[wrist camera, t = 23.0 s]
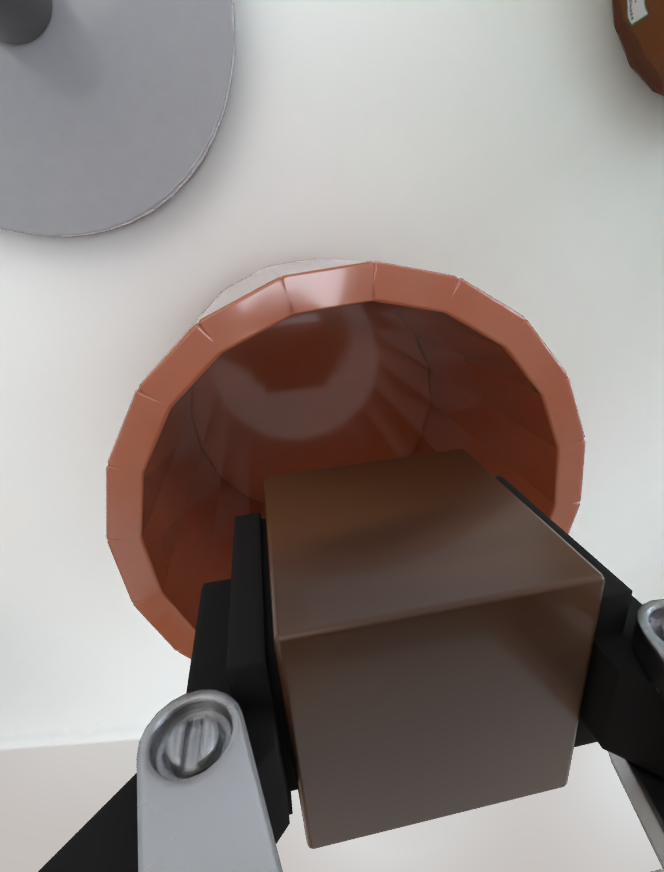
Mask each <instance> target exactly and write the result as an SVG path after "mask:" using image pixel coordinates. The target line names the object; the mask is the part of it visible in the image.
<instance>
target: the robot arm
mask: <svg viewBox="0 0 664 872" xmlns="http://www.w3.org/2000/svg"><path fill="white" fill-rule="evenodd" d="M495 478H496V479H498V480H499V481H500V482H501V483H502V484H503V485H504V486H505V487H506V488H508V489H509V490H510V491H511V492H512V493H513V494H514V495H515V496H516V497H518V498H519V499H520V500H521V501H522V502H523V503H524V504H525V505H526V506H527V507H529V508H530V509H531V510H532V511H533V512H534V513H535V514H536V515H537V516H539V517H540V518H541V519H542V520H543V521H544V522H545V523H546V524H547V525H549V526H550V527H551V528H552V529H553V530H554V531H555V532H556V533H557V534H558V535H560V536H561V537H562V538H563V539H564V540H565V541H566V542H567V543H568V544H570V545H571V546H572V547H573V548H574V549H575V550H576V551H577V552H578V553H580V554H581V555H582V556H583V557H584V558H585V559H586V560H587V561H588V562H590V563H591V564H592V565H593V566H594V567H595V568H596V569H597V570H598V571H599V572H601V573H602V574H603V576H604V579H605V585H604V590H603V595H602V601H601V606H600V611H599V617H598V622H597V627H596V632H595V638H594V643H593V648H592V653H591V659H590V664H589V669H588V675H587V680H586V685H585V690H584V696H583V701H582V706H581V712H580V717H579V722H578V727H577V733H576V738H575V743H574V747H577V746H580V745H585V744H589V743H594V742H598V743H599V744H600V746H601V747H602V748H603V749H605V750H607V751H608V752H609V756H610V759H611V762H612V764H613V766H614V768H615V770H616V772H617V774H618V776H619V779H620V781H621V783H622V785H623V787H624V789H625V791H626V793H627V795H628V797H629V799H630V801H631V803H632V806H633V808H634V810H635V812H636V814H637V816H638V818H639V820H640V822H641V824H642V826H643V828H644V830H645V832H646V835H647V837H648V839H649V841H650V843H651V845H652V847H653V849H654V851H655V853H656V855H657V857H658V860H659V862H660V863H661V866H662V868H663V869H660V870H656V871H652V872H664V599H659V600H652V601H649V602H647V603H645V604H643V605H642V604H641V603H640V602H639V601H638V600H636V599H635V598H634V597H633V596H632V590H631V589H630V588H628V587H627V586H626V585H625V584H624V583H623V582H622V581H620V580H619V579H618V578H617V577H616V576H615V575H614V574H613V573H611V572H610V571H609V570H608V569H607V568H606V567H605V566H603V565H602V564H601V563H600V562H599V561H598V560H597V559H595V558H594V557H593V556H592V555H591V554H590V553H589V552H587V551H586V550H585V549H584V548H583V547H582V546H581V545H579V544H578V543H577V542H576V541H575V540H574V539H573V538H571V537H570V536H569V535H568V534H567V533H566V532H565V531H564V530H562V529H561V528H560V527H559V526H558V525H557V524H556V523H554V522H553V521H552V520H551V519H550V518H549V517H548V516H546V515H545V514H544V513H543V512H542V511H541V510H540V509H538V508H537V507H536V506H535V505H534V504H533V503H532V502H530V501H529V500H528V499H527V498H526V497H525V496H524V495H522V494H521V493H520V492H519V491H518V490H517V489H516V488H515V487H513V486H512V485H511V484H510V483H509V482H508V481H507V480H505V479H504V478H503V477H501V476H495ZM297 789H298V785H297V779H296V773H295V767H294V761H293V755H292V749H291V743H290V737H289V731H288V725H287V719H286V713H285V707H284V701H283V695H282V689H281V683H280V677H279V671H278V665H277V659H276V653H275V647H274V641H273V626H272V609H271V593H270V576H269V560H268V543H267V527H266V518H263V519H261V514H260V512H259V513H252V514H246V515H239V516H235V520H234V538H233V555H232V572H231V579H226V580H220V581H214V582H208V583H204V584H203V586H202V590H201V596H200V603H199V610H198V617H197V624H196V631H195V637H194V644H193V651H192V658H191V665H190V672H189V679H188V686H187V693H186V694H184V695H182V696H180V697H179V698H177V699H175V700H173V701H171V702H170V703H169V704H167V705H166V706H165V707H164V708H163V709H161V710H160V711H159V712H158V713H157V714H156V715H155V717H154V718H153V719H152V720H151V722H150V723H149V724H148V725H147V727H146V729H145V731H144V733H143V735H142V737H141V740H140V742H139V747H138V753H137V773H136V774H135V775H134V776H133V777H132V778H131V779H130V780H129V781H128V782H127V783H126V784H125V785H124V786H123V787H122V788H121V789H120V790H119V791H118V792H117V793H116V794H115V795H114V796H113V797H112V798H111V799H110V800H109V801H108V802H107V803H106V804H105V805H104V806H103V807H102V808H101V809H100V810H99V811H98V812H97V813H96V814H95V815H94V816H93V817H92V818H91V819H90V820H89V821H88V822H87V823H86V824H85V825H84V826H83V827H82V828H81V829H80V830H79V831H78V832H77V833H76V834H75V836H73V837H72V838H71V839H70V840H69V841H68V842H67V843H66V844H65V845H64V846H63V847H62V848H61V849H60V850H59V851H58V852H57V853H56V854H55V855H54V856H53V857H52V858H51V860H49V861H48V862H47V863H46V864H45V865H44V866H43V867H42V869H40V870H39V871H38V872H283V871H282V867H281V863H280V859H279V855H278V851H277V847H276V843H277V842H278V840H279V839H280V837H281V836H282V834H283V833H284V831H285V830H286V828H287V827H288V825H289V824H290V823H289V815H290V814H292V801H291V791H292V790H297Z"/></svg>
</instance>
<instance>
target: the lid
mask: <svg viewBox="0 0 664 872" xmlns="http://www.w3.org/2000/svg"><path fill="white" fill-rule="evenodd" d="M234 53H235V19H234V8H233V0H0V229H4V230H9V231H13V232H18V233H23V234H30V235H42V236H54V237H66V236H85V235H90V234H95V233H100V232H105V231H110V230H113V229H115V228H118V227H121V226H124V225H127V224H130V223H132V222H134V221H136V220H138V219H140V218H141V217H143V216H145V215H147V214H149V213H151V212H153V211H154V210H155V209H157V208H158V207H159V206H161V205H162V204H163V203H165V202H166V201H167V200H169V199H170V198H171V197H172V196H173V195H174V194H175V193H176V192H177V191H178V190H179V189H180V188H181V187H182V186H183V185H184V184H185V183H186V182H187V181H188V180H189V179H190V177H191V176H192V174H193V173H194V172H195V170H196V169H197V168H198V166H199V165H200V163H201V162H202V161H203V159H204V157H205V155H206V153H207V151H208V150H209V148H210V146H211V144H212V142H213V140H214V138H215V136H216V133H217V131H218V128H219V125H220V123H221V120H222V117H223V114H224V112H225V108H226V103H227V99H228V95H229V90H230V86H231V80H232V71H233V62H234Z"/></svg>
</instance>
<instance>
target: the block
mask: <svg viewBox="0 0 664 872" xmlns="http://www.w3.org/2000/svg"><path fill="white" fill-rule="evenodd" d="M264 494H265V510H266V527H267V543H268V560H269V576H270V593H271V609H272V626H273V641H274V647H275V653H276V659H277V665H278V671H279V677H280V683H281V689H282V695H283V701H284V707H285V713H286V719H287V725H288V731H289V737H290V743H291V749H292V755H293V761H294V767H295V773H296V779H297V785H298V792H299V798H300V804H301V810H302V816H303V821H304V828H305V834H306V840H307V844H308V846H309V847H310V848H312V849H314V848H319V847H323V846H327V845H331V844H335V843H339V842H343V841H347V840H351V839H355V838H359V837H363V836H367V835H371V834H375V833H379V832H383V831H387V830H392V829H395V828H400V827H403V826H407V825H411V824H416V823H420V822H423V821H428V820H431V819H436V818H440V817H444V816H448V815H452V814H456V813H460V812H464V811H468V810H471V809H476V808H480V807H484V806H488V805H492V804H496V803H500V802H504V801H508V800H512V799H516V798H520V797H524V796H528V795H532V794H536V793H540V792H544V791H548V790H552V789H557V788H561V787H564V786H565V785H566V784H567V780H568V775H569V769H570V764H571V759H572V754H573V748H574V743H575V738H576V733H577V727H578V722H579V717H580V712H581V706H582V701H583V696H584V690H585V685H586V680H587V675H588V669H589V664H590V659H591V653H592V648H593V643H594V638H595V632H596V627H597V622H598V617H599V611H600V606H601V601H602V595H603V590H604V585H605V579H604V576H603V574H602V573H601V572H599V571H598V570H597V569H596V568H595V567H594V566H593V565H592V564H591V563H590V562H588V561H587V560H586V559H585V558H584V557H583V556H582V555H581V554H580V553H578V552H577V551H576V550H575V549H574V548H573V547H572V546H571V545H570V544H568V543H567V542H566V541H565V540H564V539H563V538H562V537H561V536H560V535H558V534H557V533H556V532H555V531H554V530H553V529H552V528H551V527H550V526H549V525H547V524H546V523H545V522H544V521H543V520H542V519H541V518H540V517H539V516H537V515H536V514H535V513H534V512H533V511H532V510H531V509H530V508H529V507H527V506H526V505H525V504H524V503H523V502H522V501H521V500H520V499H519V498H518V497H516V496H515V495H514V494H513V493H512V492H511V491H510V490H509V489H508V488H506V487H505V486H504V485H503V484H502V483H501V482H500V481H499V480H498V479H496V478H495V477H494V476H493V475H492V474H491V473H490V472H489V471H488V470H487V469H485V468H484V467H483V466H482V465H481V464H480V463H479V462H478V461H477V460H475V459H474V458H473V457H472V456H471V455H470V454H469V453H468V452H467V451H465V450H463V449H458V450H451V451H444V452H437V453H430V454H423V455H416V456H409V457H402V458H395V459H388V460H381V461H374V462H367V463H360V464H353V465H346V466H339V467H332V468H325V469H318V470H311V471H304V472H297V473H290V474H283V475H276V476H269V477H266V478H265V479H264Z"/></svg>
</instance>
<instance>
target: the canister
mask: <svg viewBox="0 0 664 872" xmlns="http://www.w3.org/2000/svg"><path fill="white" fill-rule="evenodd" d="M566 375H567V373H566V372H565V370H564V369H563V367H562V366H561V365H560V363H559V362H558V361H557V359H556V358H555V357H554V355H553V354H552V353H551V351H550V350H549V349H548V347H547V346H546V345H545V343H544V342H543V341H542V339H541V338H540V337H539V335H538V334H537V333H536V331H535V330H534V328H533V327H532V326H531V324H530V323H529V322H528V320H526V319H524V317H523V316H522V315H521V314H519V313H517V312H516V311H514V310H512V309H511V308H509V307H508V306H506V305H504V304H503V303H501V302H499V301H498V300H496V299H494V298H493V297H491V296H490V295H488V294H486V293H485V292H483V291H481V290H480V289H478V288H477V287H475V286H473V285H472V284H470V283H468V282H467V281H465V280H463V279H462V278H457V277H456V276H453V275H448V274H443V273H437V272H432V271H426V270H421V269H416V268H410V267H405V266H399V265H394V264H389V263H383V262H378V261H358V260H333V259H309V260H303V261H297V262H290V263H285V264H278V265H272V266H268V267H265V268H263V269H261V270H259V271H257V272H256V273H254V274H252V275H250V276H248V277H246V278H244V279H243V280H241V281H239V282H237V283H235V284H234V285H232V286H230V287H228V288H226V289H225V290H224V291H223V292H221V293H220V294H219V296H218V297H217V298H216V299H215V300H214V301H213V302H212V303H211V304H210V306H209V307H208V308H207V309H206V310H205V311H204V312H203V313H202V314H201V316H200V317H199V318H198V319H197V320H196V321H195V322H194V323H193V324H192V326H191V327H190V328H189V329H188V330H187V331H186V332H185V334H184V335H183V336H182V337H181V338H180V339H179V340H178V342H177V343H176V344H175V345H174V346H173V347H172V348H171V350H170V351H169V352H168V353H167V354H166V355H165V356H164V358H163V359H162V360H161V361H160V362H159V363H158V364H157V365H156V367H155V368H154V369H153V370H152V371H151V372H150V373H149V375H148V376H147V377H146V378H145V379H144V380H143V381H142V383H141V384H140V386H139V388H138V389H137V390H136V391H135V394H134V396H133V399H132V401H131V404H130V406H129V409H128V411H127V414H126V416H125V419H124V422H123V424H122V427H121V429H120V432H119V434H118V437H117V439H116V442H115V444H114V447H113V449H112V452H111V454H110V457H109V460H108V466H107V467H106V537H107V539H108V544H109V547H110V549H111V552H112V554H113V557H114V559H115V562H116V564H117V566H118V569H119V571H120V574H121V576H122V579H123V581H124V584H125V586H126V589H127V591H128V593H129V596H130V598H131V601H132V602H133V605H134V606H135V607H136V608H137V609H138V610H139V611H140V613H141V614H142V615H143V616H144V617H145V618H146V619H147V620H148V621H149V622H150V623H151V624H152V625H153V627H154V628H155V629H156V630H157V631H158V632H159V633H160V634H161V635H162V636H163V637H164V638H165V640H166V641H167V642H168V643H169V644H170V645H171V646H172V647H173V648H174V649H175V650H176V651H177V650H178V652H179V653H181V654H183V655H185V656H186V657H188V658H190V659H191V658H192V651H193V644H194V637H195V631H196V624H197V617H198V610H199V603H200V596H201V590H202V586H203V584H204V583H208V582H214V581H220V580H226V579H231V572H232V555H233V538H234V520H235V516H239V515H246V514H252V513H259V512H260V514H261V519H263V518H266V510H265V494H264V479H265V478H266V477H269V476H276V475H283V474H290V473H297V472H304V471H311V470H318V469H325V468H332V467H339V466H346V465H353V464H360V463H367V462H374V461H381V460H388V459H395V458H402V457H409V456H416V455H423V454H430V453H437V452H444V451H451V450H458V449H463V450H465V451H467V452H468V453H469V454H470V455H471V456H472V457H473V458H474V459H475V460H477V461H478V462H479V463H480V464H481V465H482V466H483V467H484V468H485V469H487V470H488V471H489V472H490V473H491V474H492V475H493V476H494V477H495V476H501V477H503V478H504V479H505V480H507V481H508V482H509V483H510V484H511V485H512V486H513V487H515V488H516V489H517V490H518V491H519V492H520V493H521V494H522V495H524V496H525V497H526V498H527V499H528V500H529V501H530V502H532V503H533V504H534V505H535V506H536V507H537V508H538V509H540V510H541V511H542V512H543V513H544V514H545V515H546V516H548V517H549V518H550V519H551V520H552V521H553V522H554V523H556V524H557V525H558V526H559V527H560V528H561V529H562V530H564V531H565V532H566V533H567V534H568V533H569V531H570V528H571V526H572V523H573V521H574V518H575V516H576V513H577V511H578V508H579V506H580V503H579V502H580V500H581V490H582V478H583V465H584V452H585V440H584V437H585V436H584V432H583V428H582V425H581V421H580V417H579V414H578V410H577V406H576V403H575V399H574V395H573V392H572V388H571V384H570V381H569V378H568V377H567V376H566Z"/></svg>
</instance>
